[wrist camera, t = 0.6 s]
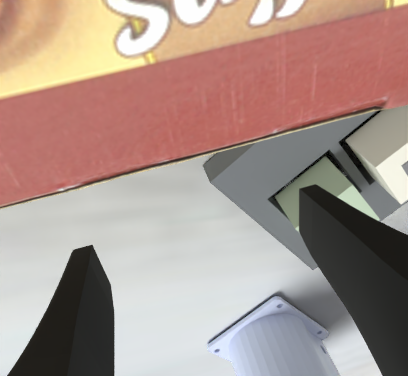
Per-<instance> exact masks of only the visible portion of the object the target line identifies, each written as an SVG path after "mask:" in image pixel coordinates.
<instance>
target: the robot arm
mask: <svg viewBox="0 0 408 376" xmlns="http://www.w3.org/2000/svg"><path fill="white" fill-rule="evenodd" d="M299 232H300V235H301V237H302V239H303V241H304V243H305V245H306V247H307V249H308V251H309V253H310V255H311V256H312V258H313V259H314V261H315V262H316V264H317V265H318V267H319V268H320V270H321V271H322V273H323V274H324V276H325V277H326V279H327V280H328V282H329V283H330V285H331V286H332V288H333V289H334V290H335V292H336V293H337V295H338V296H339V298H340V299H341V301H342V302H343V304H344V305H345V307H346V308H347V310H348V312H349V313H350V315H351V316H352V318H353V320H354V322H355V323H356V325H357V327H358V329H359V331H360V333H361V335H362V336H363V338H364V340H365V342H366V344H367V346H368V348H369V350H370V352H371V354H372V356H373V358H374V360H375V361H376V363H377V365H378V367H379V369H380V371H381V373H382V375H383V376H408V235H406V234H404V233H402V232H400V231H397V230H395V229H393V228H391V227H389V226H387V225H385V224H383V223H381V222H379V221H378V220H376V219H374V218H372V217H370V216H368V215H367V214H365V213H363V212H361V211H360V210H358V209H356V208H354V207H353V206H351V205H349V204H348V203H346V202H344V201H343V200H341V199H339V198H338V197H336V196H334V195H333V194H331V193H330V192H328V191H326V190H325V189H323V188H321V187H320V186H318V185H316V184H314V185H310V186H307V187H303V188H299ZM328 336H329V332H328V331H327V330H326V329H325V328H324V327H322V326H321V325H319V324H318V323H316V322H315V321H314V320H312V319H311V318H309V317H308V316H306V315H305V314H304V313H302V312H301V311H299V310H298V309H296V308H295V307H294V306H292V305H291V304H289V303H288V302H286V301H285V300H284V299H282V298H281V297H279V296H275V297H273V298H271V299H270V300H268V301H267V302H266V303H264V304H263V305H262V306H260V307H259V308H257V309H256V310H255V311H253V312H252V313H250V314H249V315H248V316H246V317H245V318H244V319H242V320H241V321H239V322H238V323H237V324H235V325H234V326H233V327H231V328H230V329H228V330H227V331H226V332H224V333H223V334H222V335H220V336H219V337H217V338H216V339H215V340H213V341H212V342H211V343H209V344H208V345H207V349H208V351H209V352H211V353H213V354H215V355H217V356H219V357H222V358H224V359H226V360H228V361H230V362H232V365H233V368H234V371H235V374H236V376H340V374H339V372H338V370H337V368H336V367H335V365H334V363H333V361H332V359H331V357H330V355H329V353H328V352H327V350H326V348H325V346H324V344H323V342H322V340H324V339H325V338H327V337H328ZM7 376H114V307H113V299H112V291H111V284H110V282H109V280H108V278H107V276H106V274H105V271H104V269H103V267H102V265H101V263H100V261H99V258H98V256H97V254H96V252H95V250H94V248H93V245H89V246H86V247H82V248H78V249H75V250H73V252H72V253H71V256H70V258H69V261H68V263H67V266H66V268H65V271H64V273H63V275H62V278H61V280H60V282H59V285H58V287H57V289H56V291H55V293H54V295H53V298H52V300H51V302H50V304H49V306H48V308H47V310H46V312H45V314H44V316H43V318H42V319H41V321H40V323H39V325H38V327H37V329H36V331H35V333H34V334H33V336H32V338H31V339H30V341H29V343H28V345H27V346H26V348H25V350H24V351H23V353H22V354H21V356H20V357H19V359H18V361H17V362H16V364H15V365H14V367H13V368H12V370H11V371H10V372H9V374H8V375H7Z"/></svg>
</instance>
